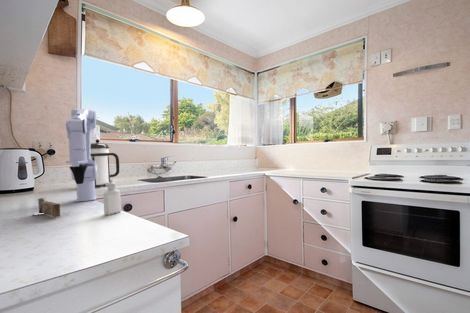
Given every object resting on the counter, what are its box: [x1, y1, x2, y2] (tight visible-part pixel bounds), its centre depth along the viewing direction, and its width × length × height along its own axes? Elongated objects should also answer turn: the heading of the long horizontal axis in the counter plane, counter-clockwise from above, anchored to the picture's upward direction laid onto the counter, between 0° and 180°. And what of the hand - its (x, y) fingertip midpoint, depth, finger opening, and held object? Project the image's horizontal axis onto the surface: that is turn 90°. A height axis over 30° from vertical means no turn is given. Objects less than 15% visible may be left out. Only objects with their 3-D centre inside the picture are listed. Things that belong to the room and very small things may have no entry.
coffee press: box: [90, 138, 120, 189], centre depth 155 cm, size 17×16×30 cm
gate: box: [41, 200, 61, 218], centre depth 84 cm, size 12×2×4 cm, turn 57°
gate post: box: [37, 197, 46, 213], centre depth 88 cm, size 5×5×6 cm
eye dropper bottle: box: [102, 178, 122, 216], centre depth 85 cm, size 4×6×12 cm
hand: (79, 183), depth 96 cm, fingers closed
